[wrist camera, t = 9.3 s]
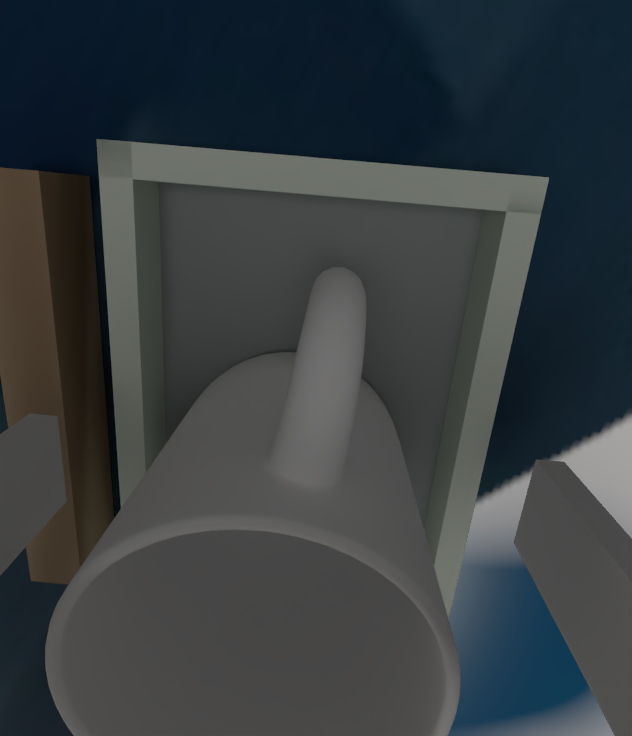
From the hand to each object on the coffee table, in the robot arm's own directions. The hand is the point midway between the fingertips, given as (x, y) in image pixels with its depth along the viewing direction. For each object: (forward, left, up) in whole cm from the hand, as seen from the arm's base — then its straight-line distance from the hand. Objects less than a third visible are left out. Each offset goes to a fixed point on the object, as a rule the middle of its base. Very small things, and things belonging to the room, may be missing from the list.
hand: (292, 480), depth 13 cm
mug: (0, 0, -6) cm, 6 cm away
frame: (0, 0, -6) cm, 6 cm away
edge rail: (-9, 0, -6) cm, 11 cm away
